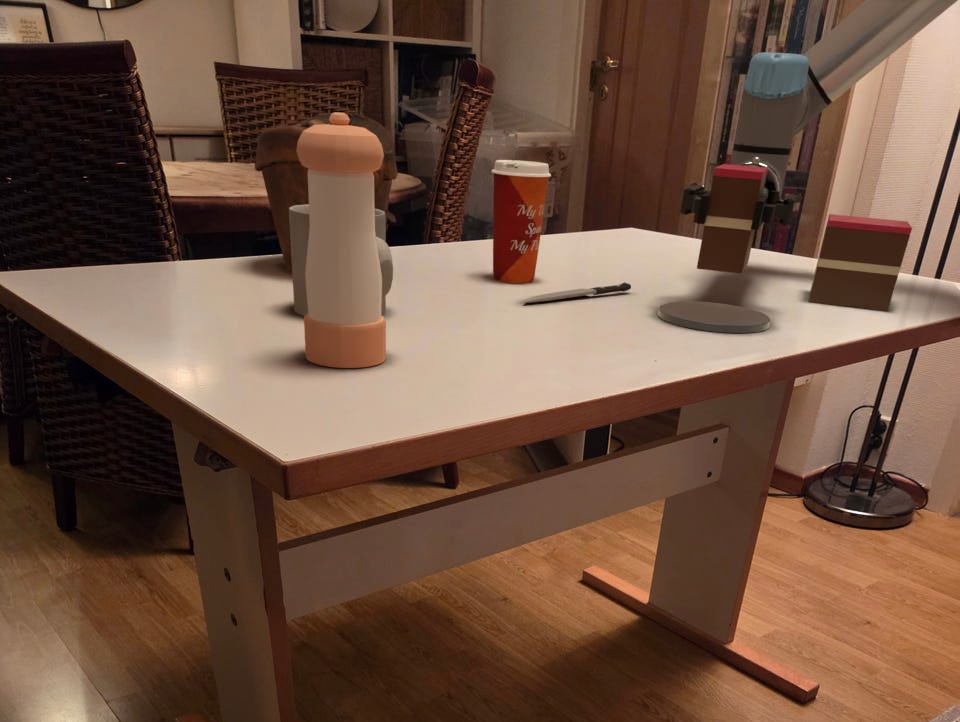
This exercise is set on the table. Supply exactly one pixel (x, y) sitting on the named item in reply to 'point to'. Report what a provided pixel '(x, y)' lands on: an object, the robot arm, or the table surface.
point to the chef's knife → (580, 292)
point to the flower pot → (291, 178)
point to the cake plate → (714, 317)
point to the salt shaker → (342, 246)
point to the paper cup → (517, 218)
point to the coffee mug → (300, 247)
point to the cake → (859, 261)
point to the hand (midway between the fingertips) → (729, 212)
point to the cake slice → (731, 218)
